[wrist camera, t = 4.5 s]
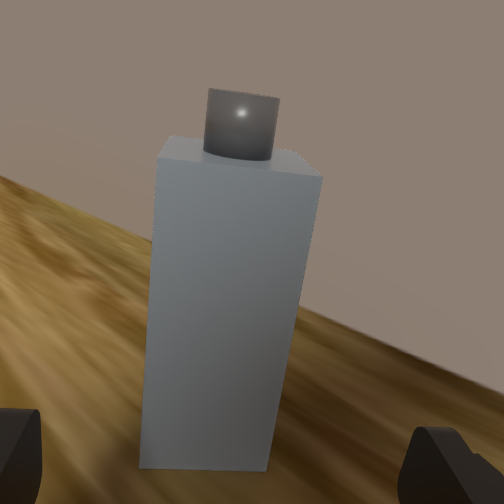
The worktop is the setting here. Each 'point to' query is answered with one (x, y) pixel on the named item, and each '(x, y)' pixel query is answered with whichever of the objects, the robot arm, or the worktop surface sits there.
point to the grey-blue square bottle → (223, 288)
